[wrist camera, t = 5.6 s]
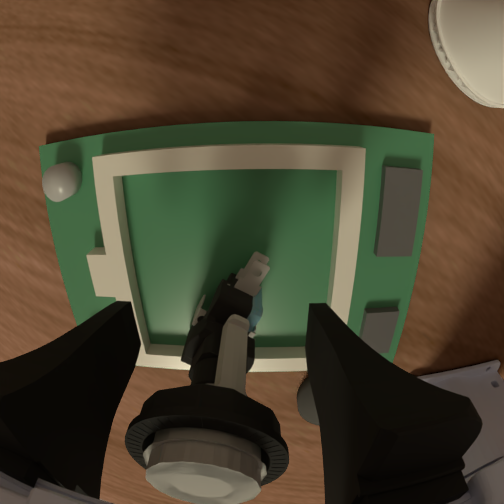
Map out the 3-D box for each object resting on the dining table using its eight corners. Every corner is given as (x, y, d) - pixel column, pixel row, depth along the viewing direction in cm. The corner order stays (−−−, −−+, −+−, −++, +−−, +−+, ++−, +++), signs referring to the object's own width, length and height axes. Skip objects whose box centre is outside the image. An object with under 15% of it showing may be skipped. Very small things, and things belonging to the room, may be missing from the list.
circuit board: (428, 133, 13) (446, 136, 12) (389, 358, 19) (397, 376, 17) (45, 144, 14) (25, 149, 12) (93, 354, 19) (83, 371, 18)
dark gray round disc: (387, 354, 19) (393, 366, 18) (368, 410, 22) (372, 421, 20) (300, 360, 19) (301, 373, 18) (293, 416, 22) (294, 428, 21)
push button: (214, 224, 15) (155, 389, 6) (310, 274, 16) (359, 451, 7) (163, 324, 17) (105, 480, 8) (246, 361, 18) (239, 520, 9)
